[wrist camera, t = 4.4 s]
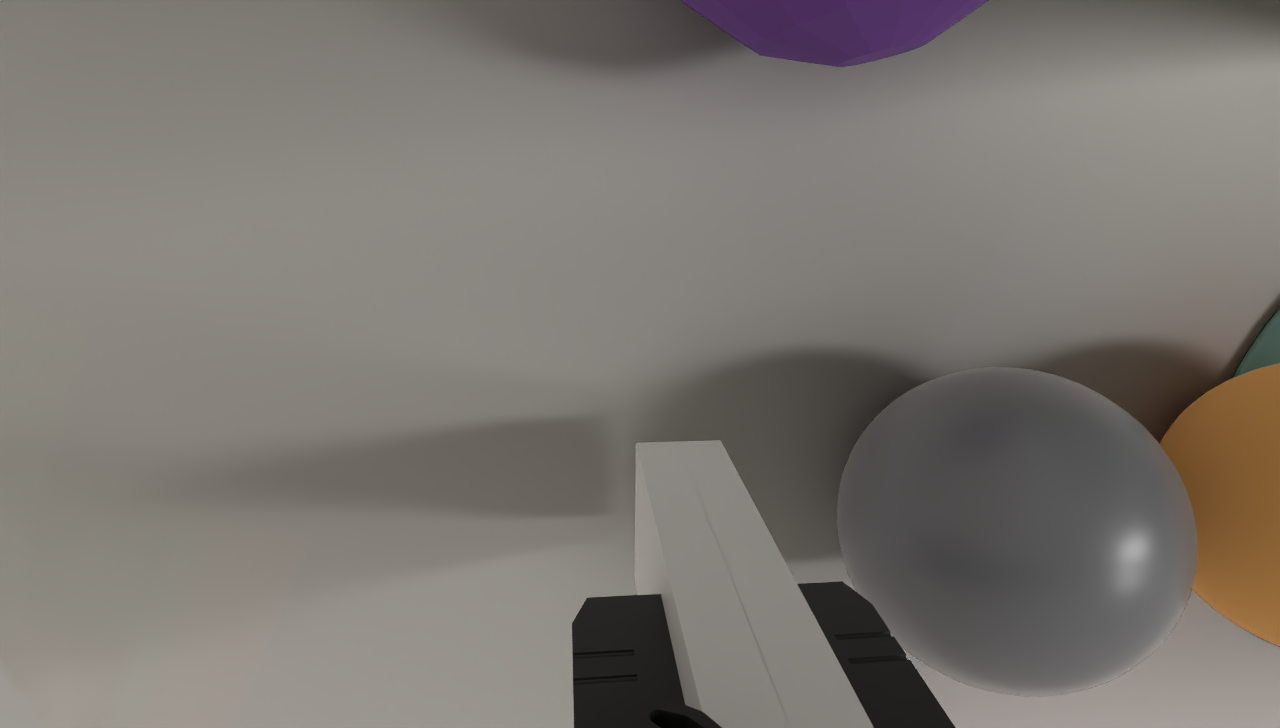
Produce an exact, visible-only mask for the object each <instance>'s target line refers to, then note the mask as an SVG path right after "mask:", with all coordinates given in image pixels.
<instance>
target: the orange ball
mask: <svg viewBox="0 0 1280 728" xmlns="http://www.w3.org/2000/svg"><path fill="white" fill-rule="evenodd" d="M1160 445H1161V447H1162V448H1163V450H1164V451H1165V453H1166V454H1167V456H1168V457H1169V459H1170V460H1171V462H1172V463H1173V465H1174V466H1175V468H1176V469H1177V471H1178V473H1179V475H1180V477H1181V479H1182V481H1183V484H1184V486H1185V488H1186V490H1187V492H1188V496H1189V499H1190V503H1191V506H1192V510H1193V513H1194V518H1195V523H1196V531H1197V540H1198V553H1197V567H1196V573H1195V579H1194V583H1193V586H1192V589H1193V590H1194V591H1195V592H1196V593H1197V594H1198V595H1199V596H1200V597H1201V598H1202V599H1203V600H1204V601H1206V602H1207V603H1208V604H1209V605H1210V606H1211V607H1212V608H1213V609H1215V610H1216V611H1218V612H1219V613H1220V614H1222V615H1223V616H1225V617H1226V618H1228V619H1229V620H1230V621H1232V622H1233V623H1235V624H1236V625H1238V626H1240V627H1242V628H1243V629H1245V630H1247V631H1249V632H1250V633H1252V634H1254V635H1256V636H1257V637H1259V638H1261V639H1264V640H1266V641H1268V642H1270V643H1273V644H1275V645H1277V646H1279V647H1280V363H1278V364H1274V365H1270V366H1266V367H1262V368H1259V369H1255V370H1252V371H1249V372H1247V373H1244V374H1242V375H1239V376H1237V377H1234V378H1232V379H1229V380H1227V381H1225V382H1223V383H1222V384H1220V385H1218V386H1216V387H1215V388H1213V389H1211V390H1209V391H1208V392H1206V393H1205V394H1203V395H1202V396H1201V397H1199V398H1198V399H1197V400H1196V401H1194V402H1193V403H1192V404H1191V405H1189V406H1188V407H1187V408H1186V409H1185V410H1184V411H1183V412H1182V413H1181V414H1180V415H1179V416H1178V417H1177V419H1176V420H1175V421H1174V423H1173V424H1172V425H1171V426H1170V428H1169V429H1168V430H1167V432H1166V434H1165V435H1164V437H1163V439H1162V440H1161V442H1160Z"/></svg>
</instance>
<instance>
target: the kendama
mask: <svg viewBox="0 0 1280 728" xmlns="http://www.w3.org/2000/svg"><path fill="white" fill-rule="evenodd" d="M681 1H682V2H683V3H685V4H686V5H688V6H689V7H691V8H692V9H693V10H695V11H696V12H698V13H699V14H701V15H702V16H704V17H705V18H706V19H708V20H709V21H711V22H712V23H714V24H715V25H717V26H718V27H720V28H721V29H722V30H724V31H725V32H727V33H728V34H730V35H731V36H733V37H734V38H735V39H737V40H738V41H740V42H741V43H743V44H744V45H746V46H747V47H749V48H750V49H751V50H753V51H754V52H756V53H757V54H759V55H762V56H769V57H775V58H782V59H789V60H795V61H802V62H809V63H816V64H822V65H829V66H836V67H844V66H851V65H857V64H861V63H866V62H870V61H875V60H878V59H882V58H886V57H890V56H893V55H897V54H900V53H904V52H907V51H910V50H913V49H915V48H918V47H920V46H923V45H925V44H926V43H928V42H929V41H931V40H932V39H934V38H935V37H936V36H938V35H939V34H941V33H942V32H944V31H945V30H947V29H948V28H949V27H951V26H952V25H954V24H955V23H957V22H958V21H960V20H961V19H962V18H964V17H965V16H967V15H968V14H970V13H971V12H973V11H974V10H975V9H977V8H978V7H980V6H981V5H983V4H984V3H986V2H987V1H988V0H681Z"/></svg>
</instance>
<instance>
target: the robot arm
mask: <svg viewBox="0 0 1280 728" xmlns="http://www.w3.org/2000/svg"><path fill="white" fill-rule="evenodd" d="M634 579H635V585H636V591H637V595H630V596H612V597H593V598H587V599H586V601H585V602H584V604H583V606H582V608H581V609H580V611H579V613H578V614H577V616H576V618H575V619H574V621H573V623H572V642H573V694H574V728H955V726H954V725H953V723H952V722H951V720H950V719H949V717H948V716H947V714H946V713H945V711H944V710H943V709H942V707H941V706H940V704H939V703H938V701H937V700H936V698H935V697H934V695H933V694H932V692H931V691H930V689H929V688H928V686H927V685H926V683H925V682H924V680H923V679H922V677H921V676H920V674H919V673H918V671H917V670H916V668H915V667H914V665H913V664H912V662H911V661H910V660H907V659H906V654H905V652H904V651H903V649H902V648H901V646H900V645H899V643H898V642H897V640H896V639H895V637H894V636H893V637H891V634H890V630H889V628H888V627H887V625H886V624H885V622H884V621H883V619H882V618H881V616H880V615H879V613H878V612H877V610H876V609H875V607H874V606H873V604H872V603H870V602H869V601H868V600H866V599H865V598H864V597H862V596H861V595H860V594H858V593H857V592H856V591H854V590H853V589H851V588H850V587H849V586H847V585H846V584H845V583H843V582H826V583H807V584H797V583H796V581H795V579H794V577H793V575H792V573H791V571H790V570H789V568H788V566H787V564H786V562H785V560H784V558H783V556H782V555H781V553H780V551H779V549H778V547H777V545H776V543H775V541H774V540H773V538H772V536H771V534H770V532H769V530H768V528H767V526H766V525H765V523H764V521H763V519H762V517H761V515H760V513H759V511H758V510H757V508H756V506H755V504H754V502H753V500H752V498H751V496H750V495H749V493H748V491H747V489H746V487H745V485H744V483H743V481H742V480H741V478H740V476H739V474H738V472H737V470H736V468H735V466H734V465H733V463H732V461H731V459H730V457H729V455H728V453H727V451H726V450H725V448H724V446H723V444H722V442H721V440H709V441H677V442H645V443H636V474H635V568H634Z"/></svg>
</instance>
